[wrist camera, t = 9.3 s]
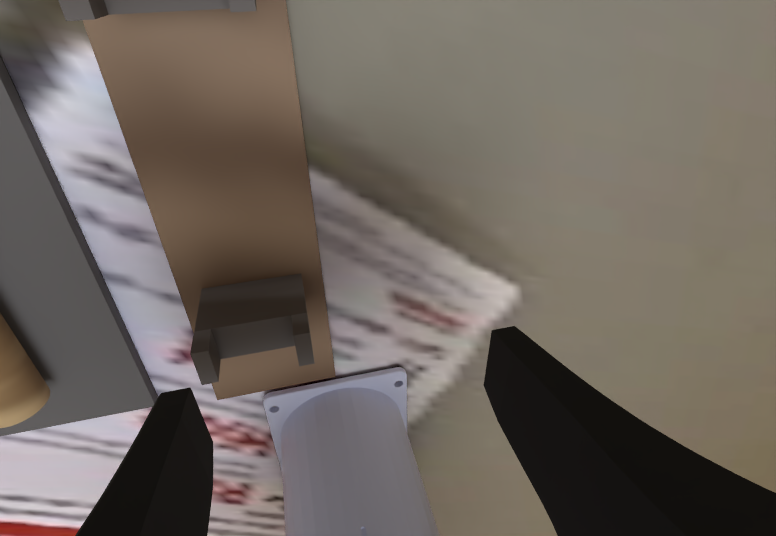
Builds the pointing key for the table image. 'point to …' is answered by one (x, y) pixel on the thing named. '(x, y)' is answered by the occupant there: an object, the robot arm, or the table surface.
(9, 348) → the rail
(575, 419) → the robot arm
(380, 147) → the table surface
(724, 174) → the table surface
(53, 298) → the mat
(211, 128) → the hook stand
